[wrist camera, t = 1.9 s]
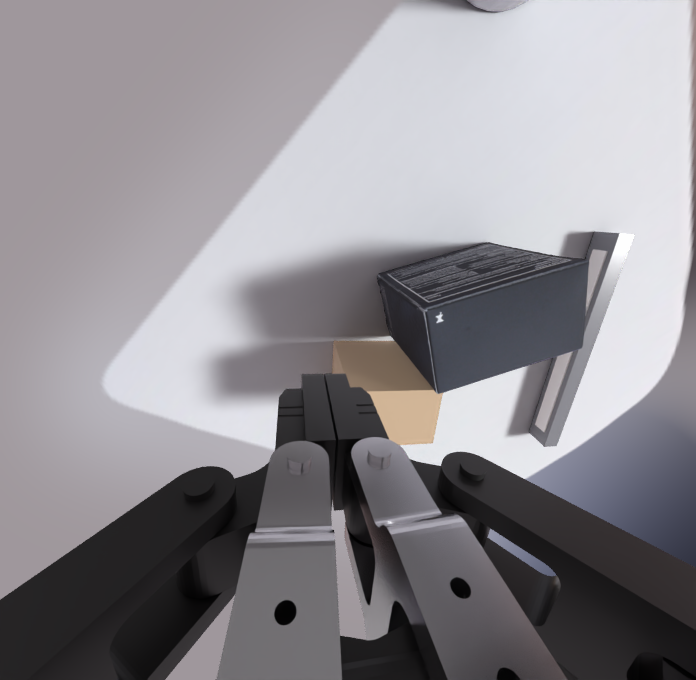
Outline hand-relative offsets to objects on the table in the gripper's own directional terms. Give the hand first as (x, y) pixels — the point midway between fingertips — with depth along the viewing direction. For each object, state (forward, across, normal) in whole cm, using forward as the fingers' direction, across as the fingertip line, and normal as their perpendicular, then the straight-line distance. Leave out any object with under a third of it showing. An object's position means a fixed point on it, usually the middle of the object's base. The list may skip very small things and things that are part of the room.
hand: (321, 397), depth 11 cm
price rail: (+17, -27, +5) cm, 32 cm away
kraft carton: (+17, -6, +7) cm, 20 cm away
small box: (+18, -12, 0) cm, 21 cm away
